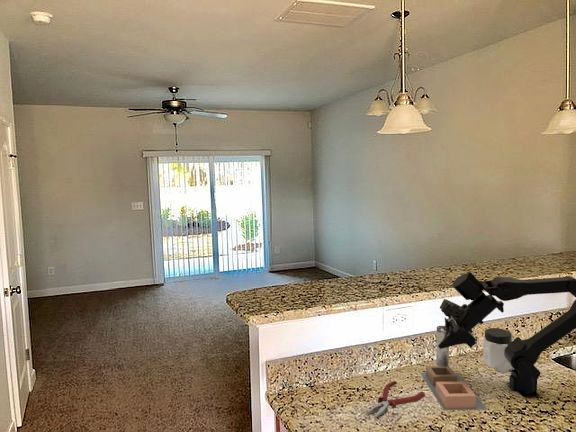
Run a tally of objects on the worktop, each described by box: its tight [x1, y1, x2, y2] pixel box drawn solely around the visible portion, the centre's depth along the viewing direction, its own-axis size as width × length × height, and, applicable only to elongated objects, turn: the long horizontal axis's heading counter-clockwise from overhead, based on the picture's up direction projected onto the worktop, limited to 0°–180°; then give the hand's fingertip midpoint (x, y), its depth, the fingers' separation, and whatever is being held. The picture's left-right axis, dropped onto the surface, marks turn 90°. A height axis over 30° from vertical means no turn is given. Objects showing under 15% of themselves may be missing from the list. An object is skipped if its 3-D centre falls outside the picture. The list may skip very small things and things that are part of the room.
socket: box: [436, 380, 477, 409], centre depth 125 cm, size 8×8×4 cm
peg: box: [435, 325, 450, 367], centre depth 134 cm, size 4×4×12 cm
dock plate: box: [420, 365, 488, 411], centre depth 131 cm, size 12×22×4 cm, turn 179°
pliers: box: [365, 380, 426, 419], centre depth 126 cm, size 12×20×3 cm, turn 134°
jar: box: [482, 327, 513, 373], centre depth 147 cm, size 9×8×12 cm
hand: (438, 344), depth 134 cm, fingers closed on peg, 4 cm apart
